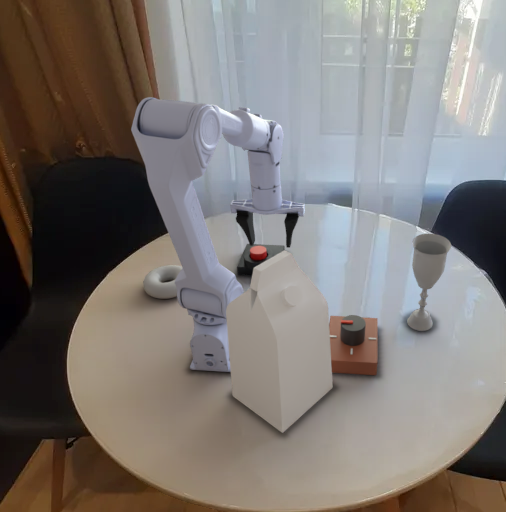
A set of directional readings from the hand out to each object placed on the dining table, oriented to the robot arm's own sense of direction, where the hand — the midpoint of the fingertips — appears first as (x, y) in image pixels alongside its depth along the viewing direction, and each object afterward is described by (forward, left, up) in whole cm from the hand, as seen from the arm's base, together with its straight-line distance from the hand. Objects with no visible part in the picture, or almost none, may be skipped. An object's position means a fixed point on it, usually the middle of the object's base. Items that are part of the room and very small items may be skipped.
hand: (270, 244), depth 101 cm
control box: (+7, +4, -10) cm, 12 cm away
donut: (-4, +22, -10) cm, 24 cm away
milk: (-31, -7, -10) cm, 34 cm away
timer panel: (-20, -18, -10) cm, 29 cm away
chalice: (-11, -31, -10) cm, 35 cm away
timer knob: (-20, -18, -6) cm, 28 cm away
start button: (+4, +4, -6) cm, 8 cm away
